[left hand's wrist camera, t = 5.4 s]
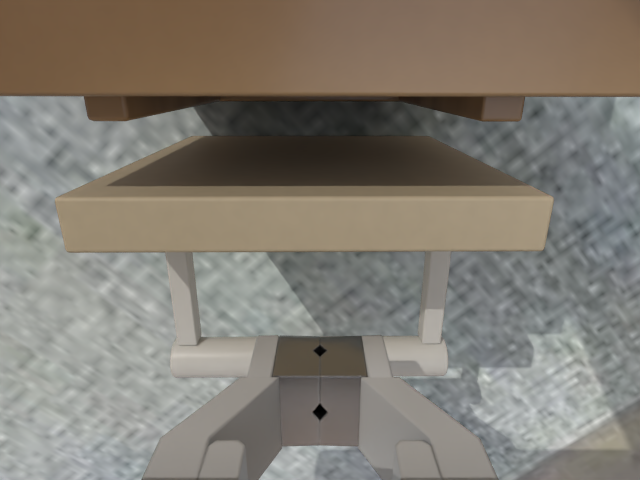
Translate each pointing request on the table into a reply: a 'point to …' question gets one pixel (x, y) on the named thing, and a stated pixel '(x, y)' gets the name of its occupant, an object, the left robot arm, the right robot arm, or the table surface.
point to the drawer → (304, 211)
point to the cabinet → (320, 48)
